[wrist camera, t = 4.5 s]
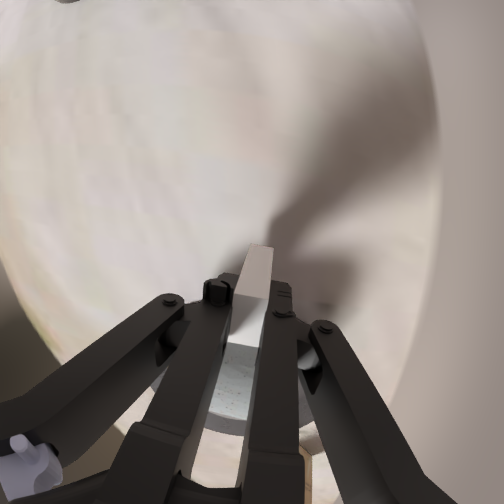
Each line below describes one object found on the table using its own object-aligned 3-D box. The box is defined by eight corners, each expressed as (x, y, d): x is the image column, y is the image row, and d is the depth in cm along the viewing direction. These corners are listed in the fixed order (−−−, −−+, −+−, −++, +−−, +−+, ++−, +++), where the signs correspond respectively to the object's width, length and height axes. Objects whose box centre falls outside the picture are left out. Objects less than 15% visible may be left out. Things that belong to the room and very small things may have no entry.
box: (312, 456, 29) (313, 521, 19) (285, 462, 30) (281, 524, 20) (298, 443, 28) (296, 516, 17) (268, 449, 29) (261, 518, 19)
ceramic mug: (192, 289, 20) (152, 355, 13) (299, 304, 20) (304, 381, 13) (195, 379, 24) (173, 441, 17) (277, 392, 24) (273, 459, 17)
